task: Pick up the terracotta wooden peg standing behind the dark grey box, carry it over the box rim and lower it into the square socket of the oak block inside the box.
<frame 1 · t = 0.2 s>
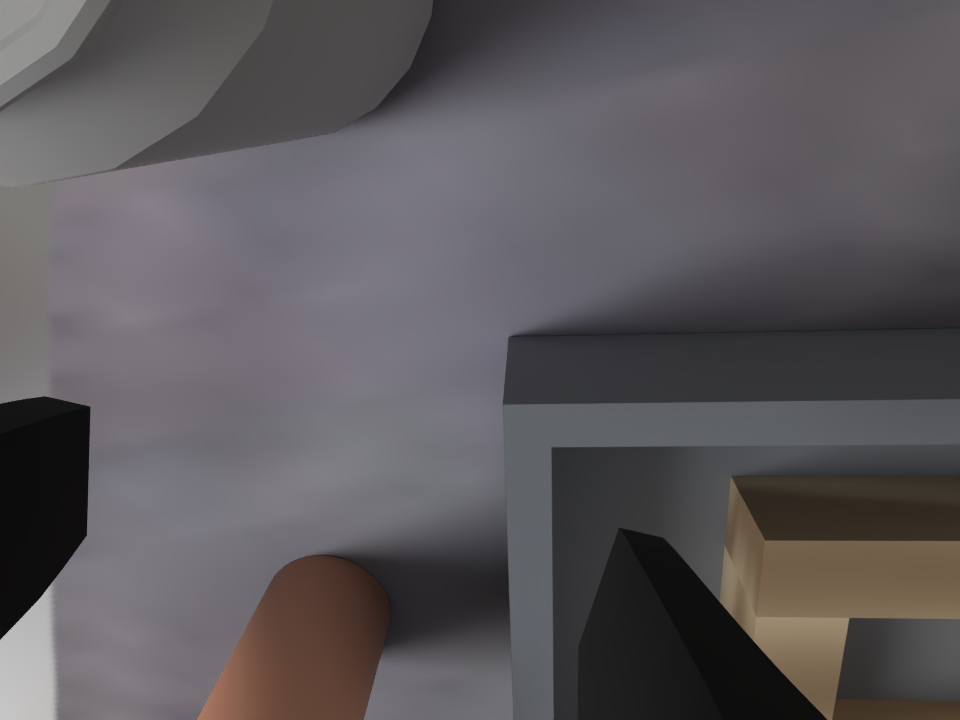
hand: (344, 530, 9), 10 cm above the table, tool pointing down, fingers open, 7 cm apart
peg: (328, 608, 22), on the table
box: (814, 613, 21), on the table
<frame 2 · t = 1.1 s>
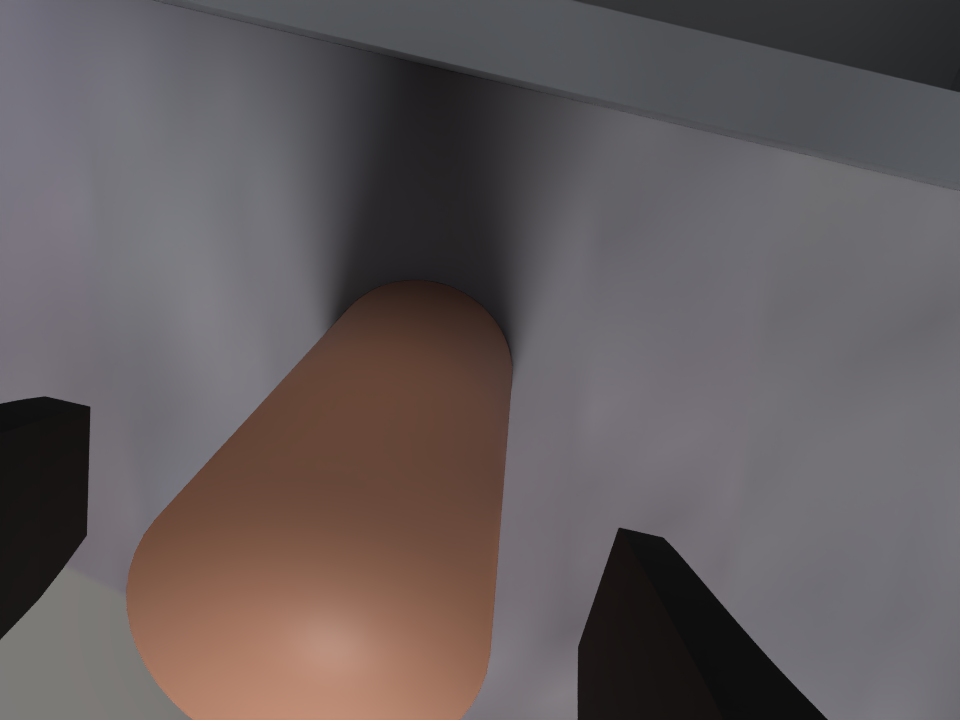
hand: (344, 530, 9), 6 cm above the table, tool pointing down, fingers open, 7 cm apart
peg: (419, 371, 15), on the table
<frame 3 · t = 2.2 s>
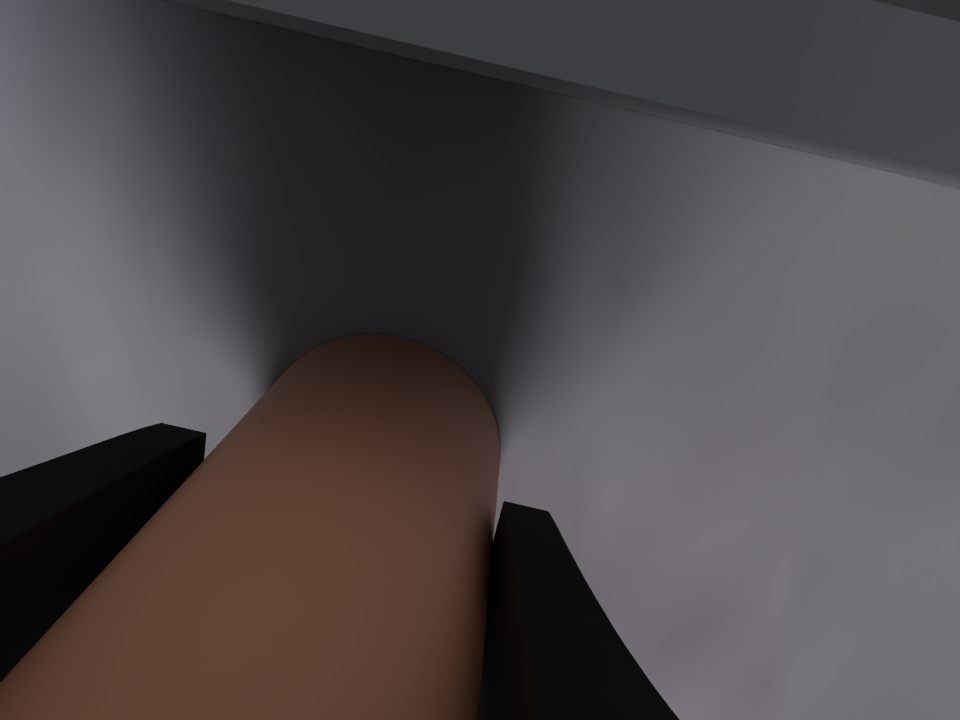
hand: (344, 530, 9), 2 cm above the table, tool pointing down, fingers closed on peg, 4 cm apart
peg: (380, 448, 12), on the table, touching gripper
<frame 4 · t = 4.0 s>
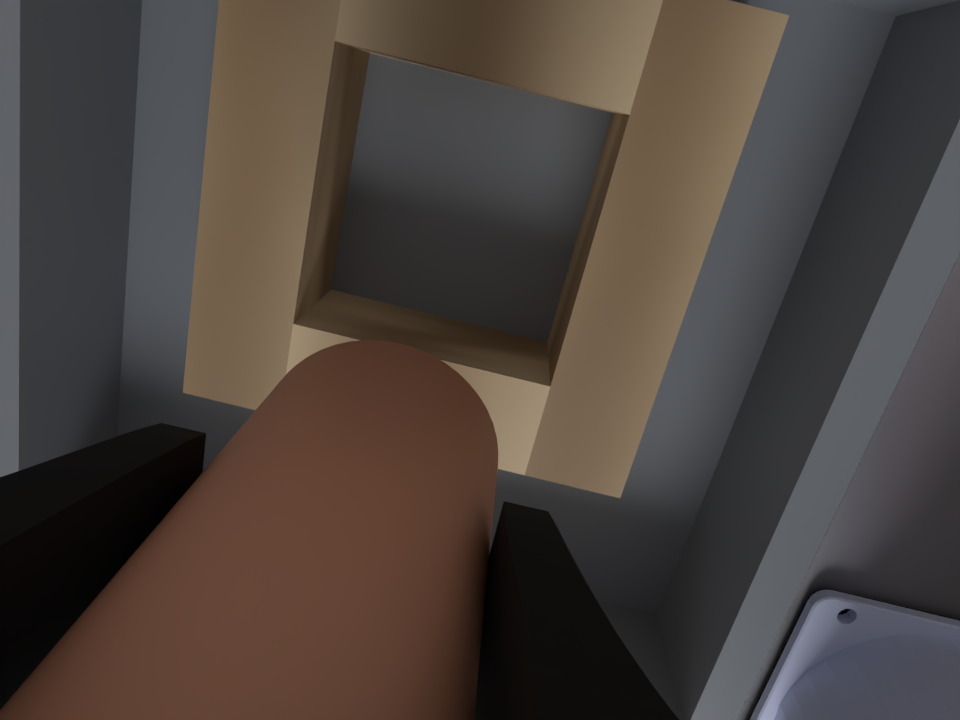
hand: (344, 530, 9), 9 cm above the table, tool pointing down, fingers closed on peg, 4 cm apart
peg: (379, 452, 12), point 7 cm above the table, touching gripper
box: (448, 281, 18), on the table
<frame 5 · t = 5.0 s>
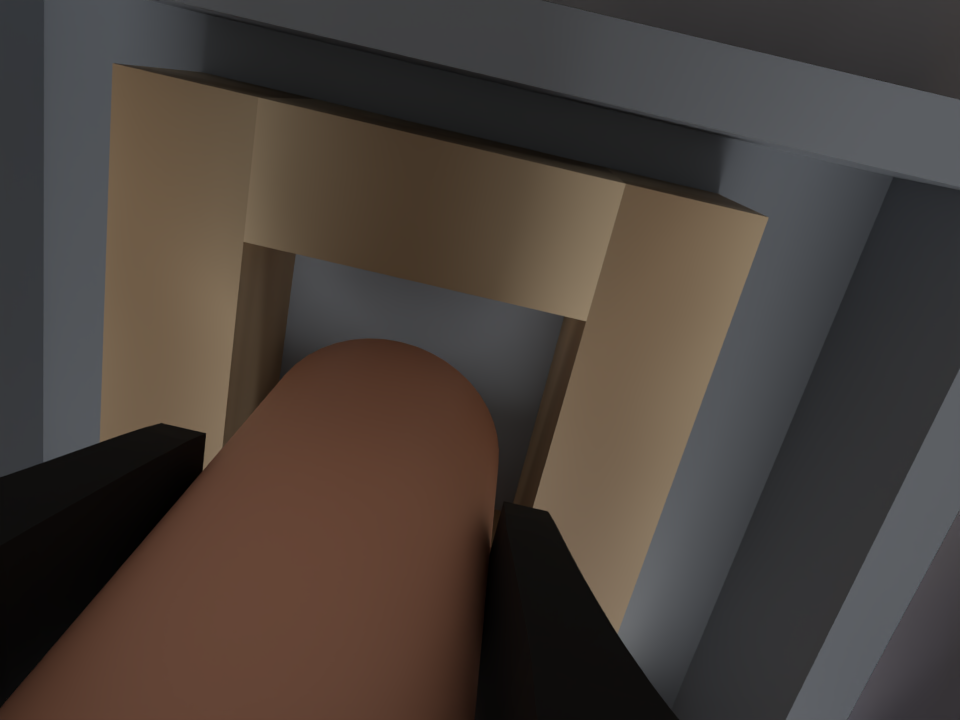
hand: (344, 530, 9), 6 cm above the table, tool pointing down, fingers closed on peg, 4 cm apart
peg: (379, 450, 12), point 4 cm above the table, touching gripper
box: (400, 444, 16), on the table
when the fingers open (4 cm above the table, at t = 5.8 s): peg drops 1 cm, resting on box.
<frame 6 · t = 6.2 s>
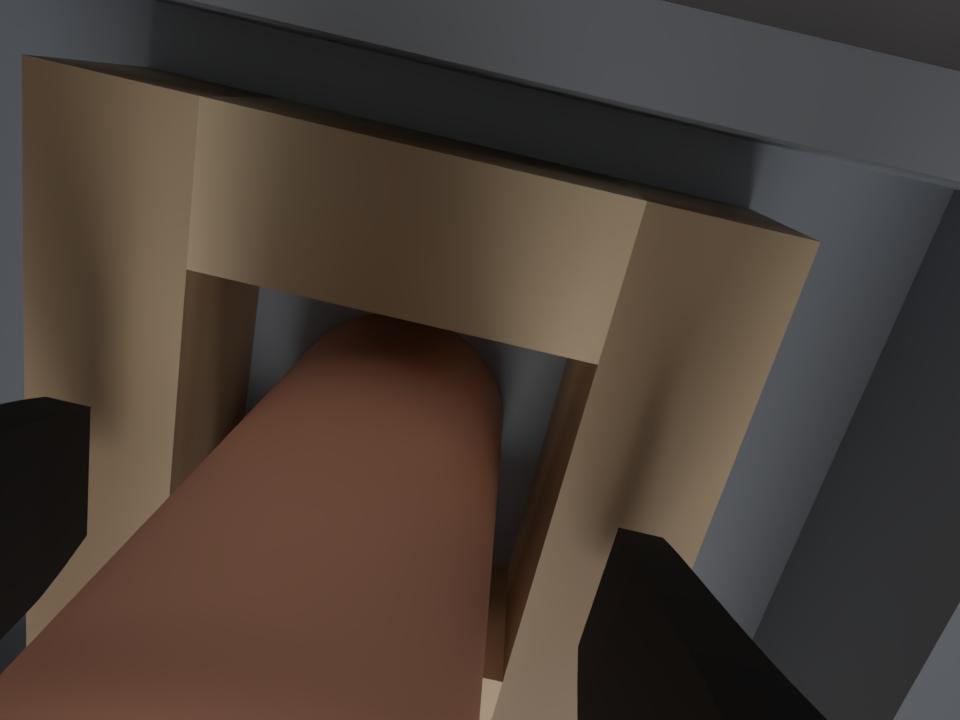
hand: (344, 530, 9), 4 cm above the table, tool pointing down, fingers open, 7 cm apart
peg: (396, 416, 13), point 1 cm above the table, touching box
box: (383, 489, 14), on the table
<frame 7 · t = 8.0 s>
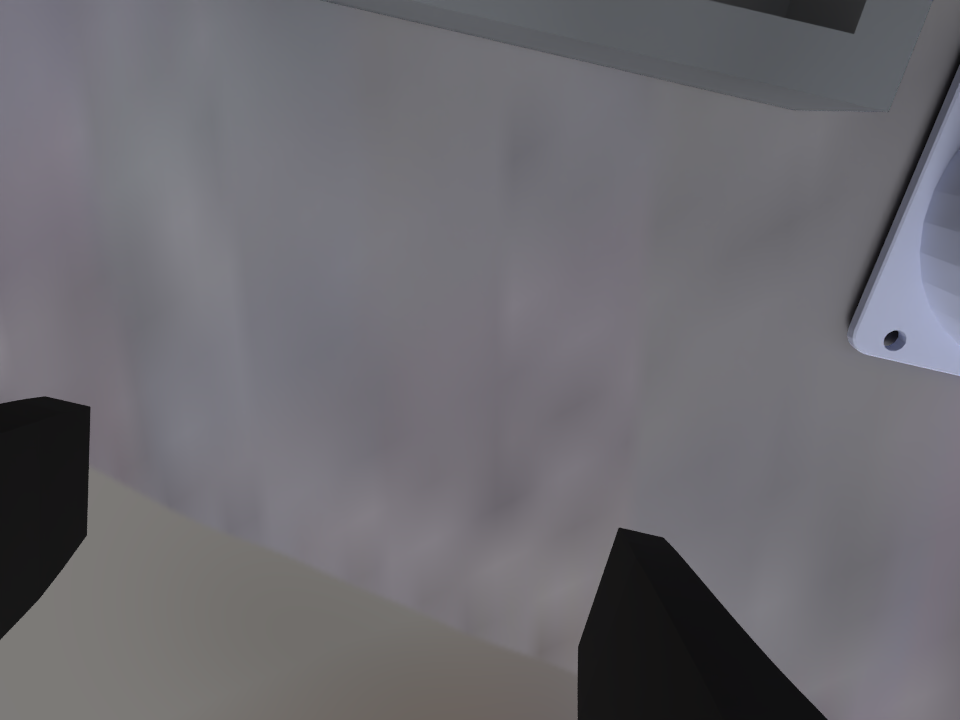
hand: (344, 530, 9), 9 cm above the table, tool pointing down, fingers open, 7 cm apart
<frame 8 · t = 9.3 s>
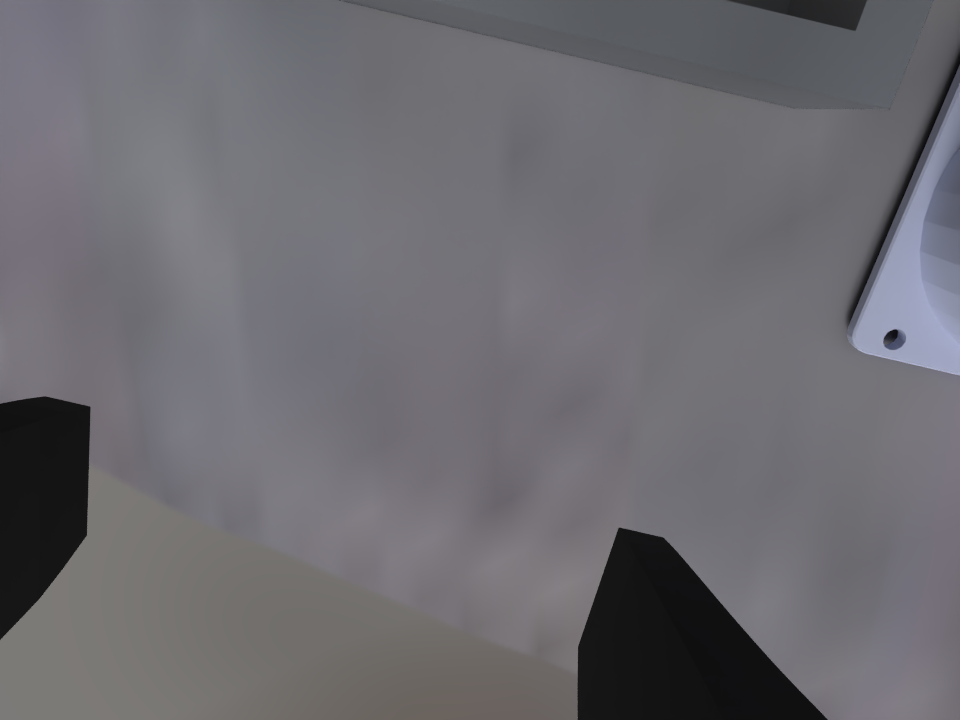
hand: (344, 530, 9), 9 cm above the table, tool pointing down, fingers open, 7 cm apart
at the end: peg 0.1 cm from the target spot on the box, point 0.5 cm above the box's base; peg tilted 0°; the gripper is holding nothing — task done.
